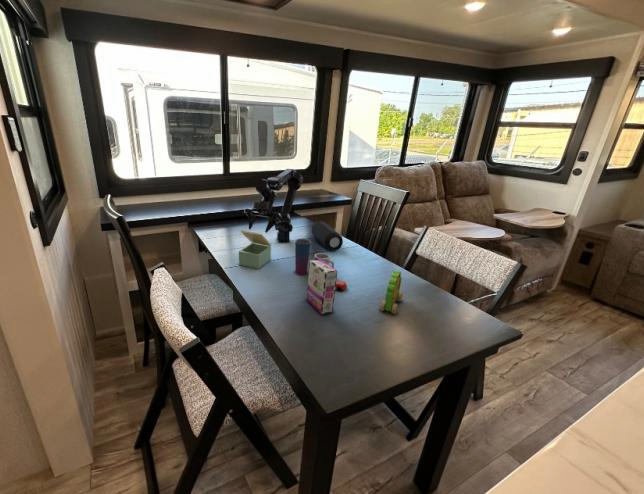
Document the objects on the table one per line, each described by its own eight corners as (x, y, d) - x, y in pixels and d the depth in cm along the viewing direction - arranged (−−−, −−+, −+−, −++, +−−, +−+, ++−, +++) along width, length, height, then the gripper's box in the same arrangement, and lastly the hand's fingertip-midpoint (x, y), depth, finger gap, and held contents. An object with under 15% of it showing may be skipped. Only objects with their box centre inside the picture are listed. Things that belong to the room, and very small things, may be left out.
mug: (310, 269, 143) (311, 255, 141) (319, 264, 148) (320, 252, 145) (329, 276, 137) (330, 262, 134) (337, 271, 141) (338, 258, 139)
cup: (310, 271, 141) (313, 240, 136) (305, 277, 136) (307, 245, 130) (296, 268, 144) (298, 237, 138) (291, 273, 138) (292, 242, 132)
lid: (261, 235, 138) (261, 234, 138) (240, 231, 142) (241, 230, 142) (270, 246, 150) (271, 244, 150) (251, 242, 154) (252, 241, 154)
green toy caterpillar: (387, 295, 122) (394, 260, 116) (402, 299, 119) (409, 263, 114) (377, 314, 109) (384, 276, 104) (393, 319, 107) (401, 280, 101)
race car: (348, 287, 128) (349, 278, 126) (344, 292, 123) (345, 284, 122) (317, 279, 133) (318, 271, 132) (313, 285, 129) (313, 276, 127)
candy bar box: (333, 312, 110) (338, 270, 104) (321, 315, 108) (325, 272, 102) (317, 297, 120) (320, 258, 114) (306, 299, 118) (308, 260, 112)
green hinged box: (258, 268, 142) (258, 255, 140) (238, 264, 146) (238, 251, 144) (270, 259, 153) (271, 246, 150) (251, 255, 157) (251, 242, 154)
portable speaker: (343, 251, 164) (345, 233, 160) (325, 252, 162) (327, 234, 158) (325, 235, 187) (326, 219, 183) (309, 236, 185) (310, 220, 181)
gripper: (244, 191, 150) (233, 221, 147) (278, 196, 141) (267, 227, 138) (254, 202, 159) (244, 230, 156) (286, 207, 151) (276, 236, 148)
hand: (257, 230), depth 150 cm, fingers open, 9 cm apart
